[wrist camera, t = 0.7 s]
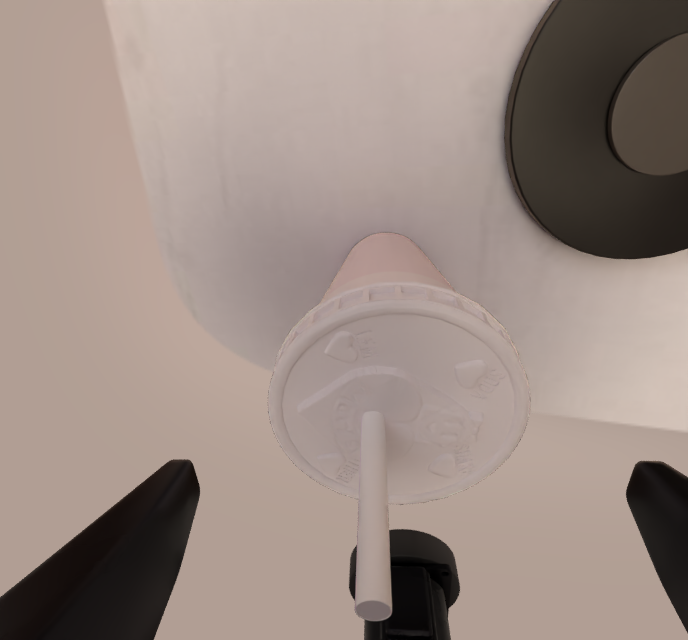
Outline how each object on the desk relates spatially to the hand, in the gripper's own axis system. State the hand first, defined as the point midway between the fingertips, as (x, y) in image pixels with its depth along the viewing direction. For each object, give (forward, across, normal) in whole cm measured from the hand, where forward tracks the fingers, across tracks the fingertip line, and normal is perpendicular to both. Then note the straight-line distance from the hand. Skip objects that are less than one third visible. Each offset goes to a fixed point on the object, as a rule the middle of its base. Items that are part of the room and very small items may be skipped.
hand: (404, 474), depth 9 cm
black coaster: (+11, -10, -6) cm, 16 cm away
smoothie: (+12, 0, 0) cm, 12 cm away
